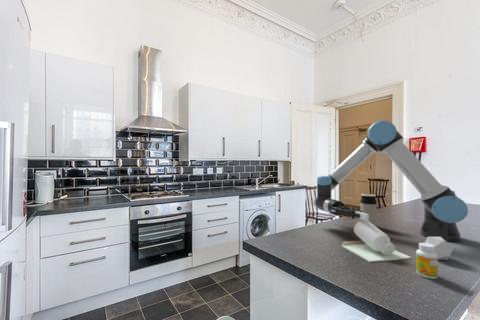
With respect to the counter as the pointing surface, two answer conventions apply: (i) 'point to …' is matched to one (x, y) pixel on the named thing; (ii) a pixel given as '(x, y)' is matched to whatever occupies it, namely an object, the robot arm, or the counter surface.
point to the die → (440, 247)
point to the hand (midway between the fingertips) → (367, 217)
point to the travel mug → (369, 207)
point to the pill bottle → (374, 237)
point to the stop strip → (353, 242)
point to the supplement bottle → (427, 261)
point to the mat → (373, 253)
